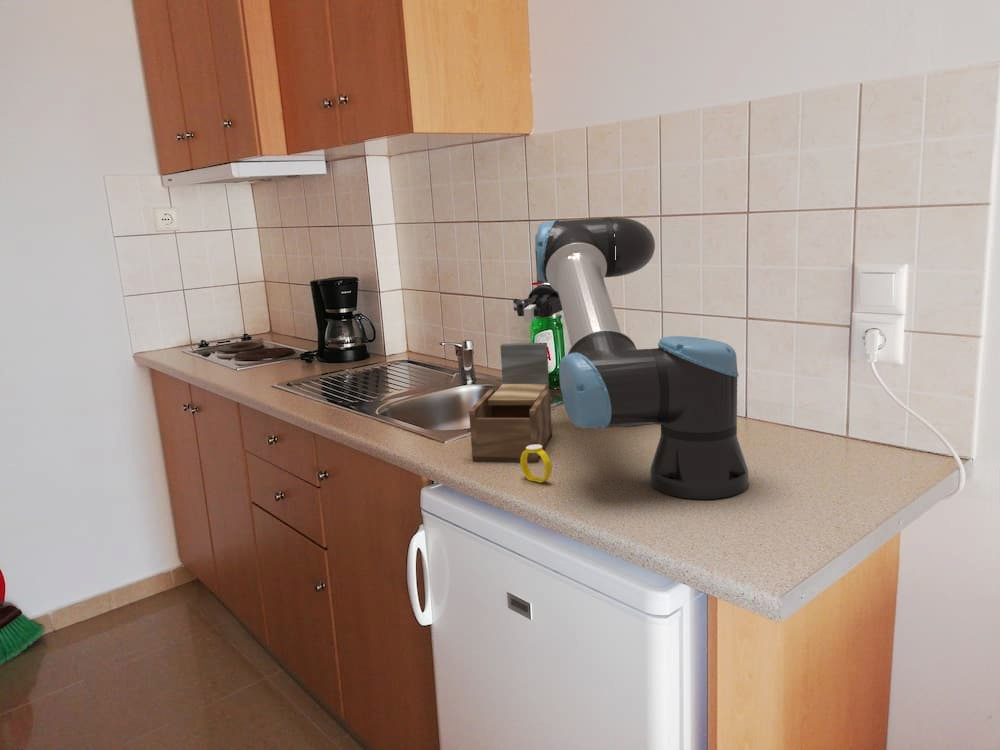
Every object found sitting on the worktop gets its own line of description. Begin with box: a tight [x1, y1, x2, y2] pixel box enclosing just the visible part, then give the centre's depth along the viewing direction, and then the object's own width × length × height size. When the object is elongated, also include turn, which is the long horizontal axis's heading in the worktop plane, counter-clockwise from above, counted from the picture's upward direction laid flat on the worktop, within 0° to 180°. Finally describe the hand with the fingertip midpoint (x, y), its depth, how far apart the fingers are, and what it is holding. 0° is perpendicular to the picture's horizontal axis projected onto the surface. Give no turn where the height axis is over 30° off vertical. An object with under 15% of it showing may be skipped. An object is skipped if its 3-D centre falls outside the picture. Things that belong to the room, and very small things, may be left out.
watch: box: [519, 444, 553, 484], centre depth 131 cm, size 6×3×6 cm, turn 44°
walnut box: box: [468, 388, 553, 464], centre depth 148 cm, size 16×12×10 cm
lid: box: [488, 342, 550, 405], centre depth 154 cm, size 15×9×9 cm, turn 167°
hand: (527, 315), depth 164 cm, fingers closed
